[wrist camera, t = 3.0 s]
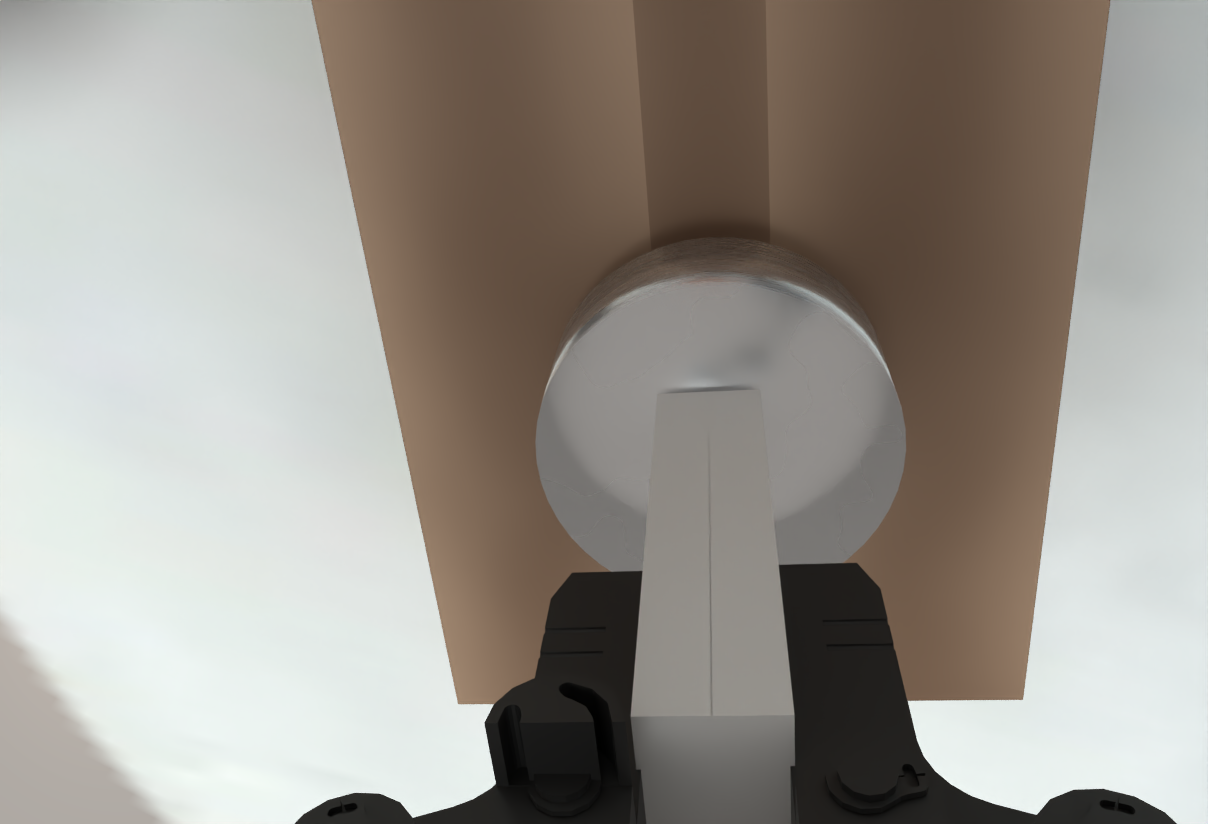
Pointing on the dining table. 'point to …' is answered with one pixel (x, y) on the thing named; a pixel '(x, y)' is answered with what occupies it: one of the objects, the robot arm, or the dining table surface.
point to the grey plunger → (722, 363)
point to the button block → (740, 210)
